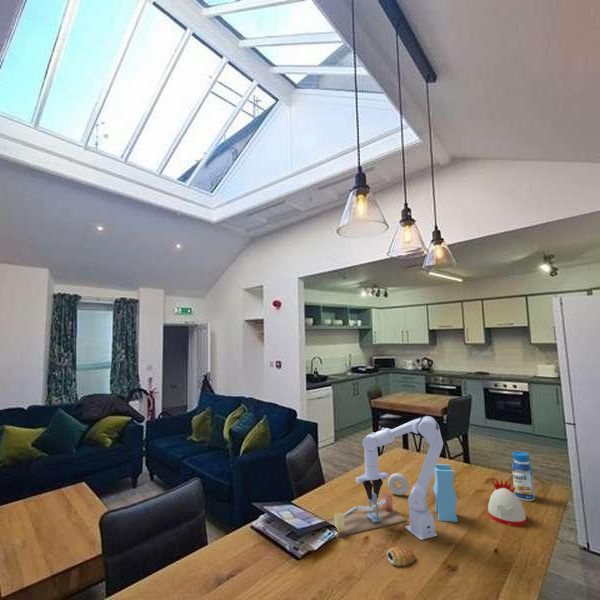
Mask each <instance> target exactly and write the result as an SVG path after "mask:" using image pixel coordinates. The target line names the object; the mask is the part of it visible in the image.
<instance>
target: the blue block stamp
mask: <svg viewBox="0 0 600 600" xmlns="http://www.w3.org/2000/svg"><path fill="white" fill-rule="evenodd" d="M377 503H378V499H377V495H376V494H375V493H373V492H372V500H370V499H368V506H372V504H373V505H376V514H375V513H371V511H369V514H366V517H368V518H369V519H370V520H371V521H372V522H373V523H375V522H379V521H382V519H381V518H380V517H378V509H379V507H378V504H377Z"/></svg>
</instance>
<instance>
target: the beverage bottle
mask: <svg viewBox="0 0 600 600" xmlns="http://www.w3.org/2000/svg"><path fill="white" fill-rule="evenodd" d="M512 459H513V463H512V465H511V468H512V471H511V473H512V480H513V481H512V482H513V488H514V487H515V490H514V492H513V493H514V494H515V495H516V496H517V497H518V499H519V500H520V501H527V502H531V501H534V500H535V499H536V496H535V488H534V487H535V486H534V474H533V468H532V466H531V464H530V460H531V459H530V454H529V453H527V452H524V451H513V452H512Z"/></svg>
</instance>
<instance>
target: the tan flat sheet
mask: <svg viewBox="0 0 600 600" xmlns="http://www.w3.org/2000/svg"><path fill="white" fill-rule="evenodd" d="M371 513H375V514H376V510H374V511H371ZM366 514H369V511H365V510H364V511H360V512H357V513H352V514H351V515H349V516H348V517H346V518H345V519H344V524H345V533H343V534H339V535H338V534H336V535H335V536H334V537H335V538H336V539H339V538H342V537H347V536H350V535H355V534H359V533H363V532H368V531H372V530H376V529H377V530H378V529H380V528H385V527H389V526H393V525H398V524H401V523H406V522H408V520H407V519H406V518H405V517H403V515H401V514H399V513H398V512H396V511H395V510H394V509H393V511H389V512H386V511H385V510H384V509H383V507H378V517H380V518H381V519H382V521H379V522H375V523H373V522H372V521H371V520H370V519H369V518H368V517H366ZM324 520H325V521H327V522H329V523H330V524H332V525H334V517H333V518H327V519H324Z"/></svg>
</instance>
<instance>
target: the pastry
mask: <svg viewBox="0 0 600 600" xmlns="http://www.w3.org/2000/svg"><path fill="white" fill-rule="evenodd" d="M385 556H386V557H387V560H388V561H389V562H390V563H391V565H394V566H395V567H401V566H403V567H405V566H407V565H410V564H411V563H412V564H413V562H414V561H415V560H416V555H415V553H414V551H412V549H409V548H404V547H399V546H395V547H394V546H393V547H392V546H391V547H390V548H387V551H386V555H385Z"/></svg>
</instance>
